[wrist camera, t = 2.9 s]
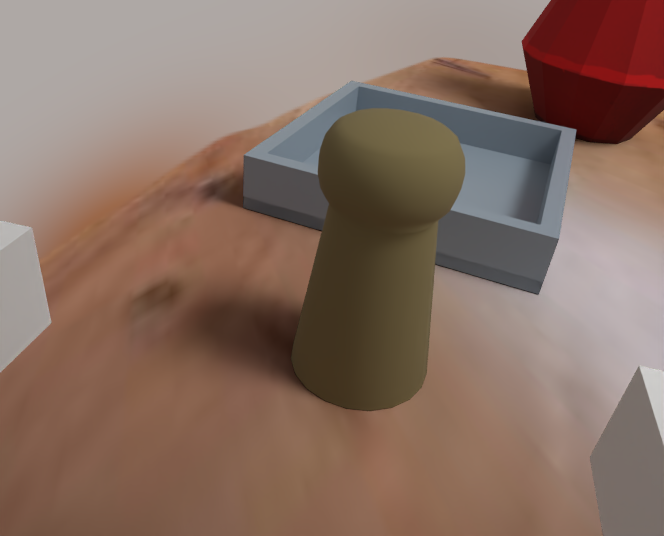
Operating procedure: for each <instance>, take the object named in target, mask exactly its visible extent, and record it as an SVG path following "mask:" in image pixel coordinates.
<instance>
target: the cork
mask: <svg viewBox="0 0 664 536" xmlns="http://www.w3.org/2000/svg"><path fill="white" fill-rule="evenodd" d="M464 177H465V156H464V153H463V150H462V148H461V145H460V142H459V139H458V136H456V135H455V134H454V133H453V132H452V131H451V130H450V129H449V128H447V127H446V126H445V125H444V124H442V123H440V122H439V121H437V120H435V119H433V118H430V117H427V116H424V115H422V114H419V113H414V112H410V111H405V110H398V109H389V108H371V109H363V110H358V111H355V112H352V113H349V114H347V115H344V116H342V117H340V118H339V119H338V120H337V121H336V122H334V124H333V125H332V126H331V127H330V129H329V130H328V131H327V133H326V134H325V136H324V139H323V142H322V145H321V147H320V153H319V160H318V178H319V183H320V188H321V190H322V192H323V194H324V196H325V198H326V199H327V201H328V203H329V206H328V210H327V214H326V218H325V221H324V225H323V229H322V233H321V237H320V241H319V245H318V249H317V253H316V257H315V261H314V265H313V269H312V272H311V276H310V280H309V284H308V288H307V292H306V296H305V300H304V304H303V308H302V312H301V316H300V320H299V323H298V327H297V331H296V335H295V339H294V343H293V349H292V355H291V361H292V364H293V368H294V371H295V374H296V376H297V377H298V378H299V379H300V381H301V382H302V383H303V384H304V386H305V387H306V388H307V389H308V390H310V391H311V392H313V393H314V394H316V395H317V396H318V397H320V398H321V399H323V400H324V401H327V402H330V403H333V404H335V405H338V406H341V407H344V408H347V409H357V410H366V411H372V410H379V409H386V408H392V407H394V406H397V405H399V404H401V403H403V402H405V401H407V400H410V399H411V398H412V397H413V396H414V395H415V394H416V393H417V392H418V390H419V389H420V388H421V387H422V385H423V382H424V379H425V376H426V373H427V360H428V348H429V335H430V322H431V309H432V296H433V284H434V271H435V258H436V245H437V232H438V221H439V220H440V219H441V218H442V217H444V216H445V215H446V214H447V213H449V212H450V210H451V208H452V206H453V205H454V203H455V201H456V199H457V197H458V195H459V193H460V191H461V189H462V185H463V181H464Z"/></svg>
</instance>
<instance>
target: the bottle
mask: <svg viewBox="0 0 664 536" xmlns="http://www.w3.org/2000/svg"><path fill="white" fill-rule="evenodd" d="M522 46H523V51H524V57H525V62H526V67H527V73H528V78H529V84H530V89H531V95H532V100H533V105H534V111H535V115H536V118H537V119H538V120H540V121H541V122H544V123H549V124H553V125H558V126H563V127H567V128H572V129H576V136H575V138H578V139H582V140H585V141H589V142H597V143H612V144H618V143H621V142H623V141H626V140H629V139H631V138H632V137H633V136H634V135H635V134H637V133H638V132H639V131H640V130H641V129H642V128H643V127H645V126H646V125H647V124H648V123H649V122H650V121H652V120H653V119H654V118H655V117H656V116H657V115H658V114H660V113H661V112H662V111H663V110H664V0H551V1H550V2H549V4H548V5H547V7H546V8H545V9H544V11H543V12H542V14H541V15H540V16H539V18H538V19H537V21H536V22H535V23H534V25H533V26H532V28H531V29H530V30H529V32H528V33H527V35H526V36H525V37H524V39H523V40H522Z"/></svg>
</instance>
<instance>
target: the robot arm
mask: <svg viewBox="0 0 664 536" xmlns="http://www.w3.org/2000/svg"><path fill="white" fill-rule="evenodd" d="M50 324H51V318H50V313H49V308H48V304H47V299H46V294H45V289H44V284H43V279H42V274H41V269H40V264H39V259H38V254H37V249H36V244H35V239H34V235H33V230H32V228H31V227H27V226H23V225H18V224H14V223H9V222H5V221H0V372H1V371H2V370H3V369H4V368H5V367H6V366H7V365H8V364H10V363H11V362H12V361H13V360H14V359H15V358H16V357H17V356H18V355H19V354H20V353H21V352H22V351H23V350H24V349H25V348H26V347H27V346H28V345H29V344H30V343H31V342H32V341H33V340H34V339H35V338H36V337H37V336H38V335H39V334H40V333H41V332H43V331H44V330H45V329H46V328H47V327H48V326H49V325H50ZM590 462H591V468H592V474H593V479H594V485H595V491H596V497H597V503H598V509H599V515H600V521H601V527H602V532H603V536H664V371H661V370H657V369H652V368H648V367H644V366H639V367H638V369H637V371H636V372H635V374H634V376H633V378H632V380H631V382H630V383H629V385H628V387H627V389H626V391H625V393H624V395H623V396H622V398H621V400H620V402H619V404H618V406H617V408H616V409H615V411H614V413H613V415H612V417H611V419H610V420H609V422H608V424H607V426H606V428H605V430H604V432H603V433H602V435H601V437H600V439H599V441H598V443H597V445H596V446H595V448H594V450H593V452H592V454H591V456H590Z"/></svg>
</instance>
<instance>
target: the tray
mask: <svg viewBox="0 0 664 536" xmlns="http://www.w3.org/2000/svg"><path fill="white" fill-rule="evenodd" d="M371 108H389V109H398V110H405V111H410V112H414V113H419V114H422V115H424V116H427V117H430V118H433V119H435V120H437V121H439V122H440V123H442V124H444V125H445V126H446V127H447V128H449V129H450V130H451V131H452V132H453V133H454V134H455V135H456V136H458V139H459V142H460V145H461V148H462V150H463V153H464V156H465V177H464V181H463V185H462V189H461V191H460V193H459V195H458V197H457V199H456V201H455V203H454V205H453V206H452V208H451V210H450V212H449V213H447V214H446V215H445V216H444V217H442V218H441V219H440V220H439V221H438V232H437V245H436V258H435V264H437V265H440V266H444V267H447V268H451V269H454V270H457V271H461V272H464V273H468V274H471V275H475V276H478V277H481V278H485V279H488V280H492V281H495V282H498V283H502V284H505V285H509V286H512V287H515V288H519V289H522V290H526V291H529V292H533V293H536V294H539V292H540V289H541V287H542V284H543V281H544V278H545V276H546V273H547V270H548V267H549V265H550V262H551V259H552V256H553V254H554V251H555V248H556V246H557V243H558V240H559V235H560V229H561V223H562V217H563V211H564V204H565V198H566V192H567V186H568V180H569V173H570V167H571V161H572V155H573V149H574V142H575V136H576V129H572V128H567V127H563V126H558V125H553V124H549V123H544V122H540V121H535V120H530V119H526V118H521V117H517V116H512V115H507V114H503V113H498V112H493V111H489V110H484V109H480V108H475V107H470V106H466V105H461V104H457V103H452V102H447V101H443V100H438V99H434V98H429V97H424V96H420V95H415V94H411V93H406V92H401V91H397V90H392V89H387V88H383V87H378V86H374V85H369V84H364V83H360V82H355V81H350V82H349V83H348V84H346V85H345V86H343V87H342V88H340V89H339V90H337V91H336V92H334V93H333V94H332V95H330V96H329V97H327V98H326V99H324V100H323V101H321V102H320V103H319V104H317V105H316V106H314V107H313V108H311V109H310V110H308V111H307V112H305V113H304V114H303V115H301V116H300V117H298V118H297V119H295V120H294V121H292V122H291V123H289V124H288V125H287V126H285V127H284V128H282V129H281V130H279V131H278V132H276V133H275V134H274V135H272V136H271V137H269V138H268V139H266V140H265V141H263V142H262V143H260V144H259V145H258V146H256V147H255V148H253V149H252V150H250V151H249V152H247V153H246V154H244V182H243V208H246V209H249V210H253V211H256V212H260V213H263V214H266V215H270V216H273V217H277V218H280V219H283V220H287V221H290V222H294V223H297V224H301V225H304V226H307V227H311V228H314V229H318V230H321V231H322V229H323V225H324V221H325V218H326V214H327V210H328V206H329V203H328V201H327V199H326V198H325V196H324V194H323V192H322V190H321V188H320V183H319V178H318V160H319V153H320V147H321V145H322V142H323V139H324V136H325V134H326V133H327V131H328V130H329V129H330V127H331V126H332V125H333V124H334V122H336V121H337V120H338V119H339V118H340V117H342V116H344V115H347V114H349V113H352V112H355V111H358V110H363V109H371Z"/></svg>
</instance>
